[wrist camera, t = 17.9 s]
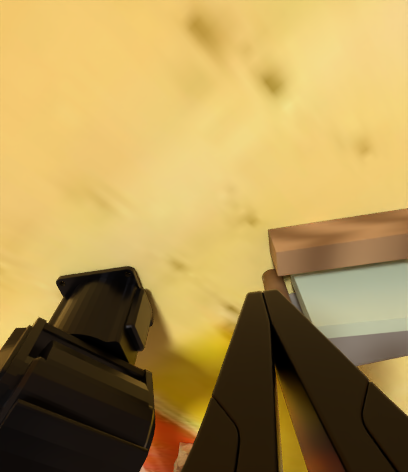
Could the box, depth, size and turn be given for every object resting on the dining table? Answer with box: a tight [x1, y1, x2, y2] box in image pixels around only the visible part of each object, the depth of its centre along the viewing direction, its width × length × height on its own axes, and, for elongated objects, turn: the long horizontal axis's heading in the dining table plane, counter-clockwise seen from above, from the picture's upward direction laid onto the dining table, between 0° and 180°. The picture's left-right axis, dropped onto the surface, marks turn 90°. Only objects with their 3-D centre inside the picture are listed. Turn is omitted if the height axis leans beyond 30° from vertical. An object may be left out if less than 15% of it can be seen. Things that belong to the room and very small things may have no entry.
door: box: [291, 259, 408, 338], centre depth 21 cm, size 11×2×6 cm, turn 99°
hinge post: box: [262, 269, 292, 303], centre depth 22 cm, size 2×2×6 cm
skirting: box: [268, 208, 408, 276], centre depth 20 cm, size 18×2×3 cm, turn 100°
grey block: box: [289, 293, 408, 366], centre depth 24 cm, size 10×5×4 cm, turn 110°
